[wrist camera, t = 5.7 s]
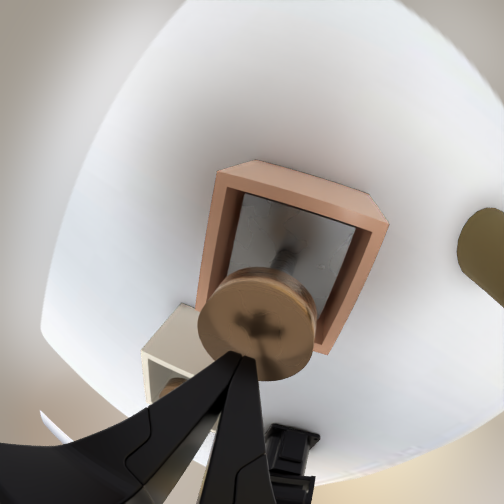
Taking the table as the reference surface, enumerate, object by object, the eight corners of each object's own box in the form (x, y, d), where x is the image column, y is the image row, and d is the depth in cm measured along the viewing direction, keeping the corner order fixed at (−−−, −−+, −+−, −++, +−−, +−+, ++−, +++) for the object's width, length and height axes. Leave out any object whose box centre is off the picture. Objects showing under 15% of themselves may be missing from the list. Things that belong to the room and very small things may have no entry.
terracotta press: (331, 292, 21) (327, 355, 15) (233, 260, 22) (194, 310, 16) (368, 194, 17) (389, 223, 11) (255, 159, 18) (217, 171, 12)
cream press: (245, 384, 27) (223, 436, 21) (177, 358, 29) (146, 402, 22) (263, 333, 24) (240, 392, 18) (181, 302, 25) (140, 350, 19)
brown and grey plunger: (319, 314, 16) (304, 410, 10) (227, 284, 17) (172, 362, 11) (355, 225, 14) (372, 298, 7) (247, 191, 14) (181, 236, 8)
